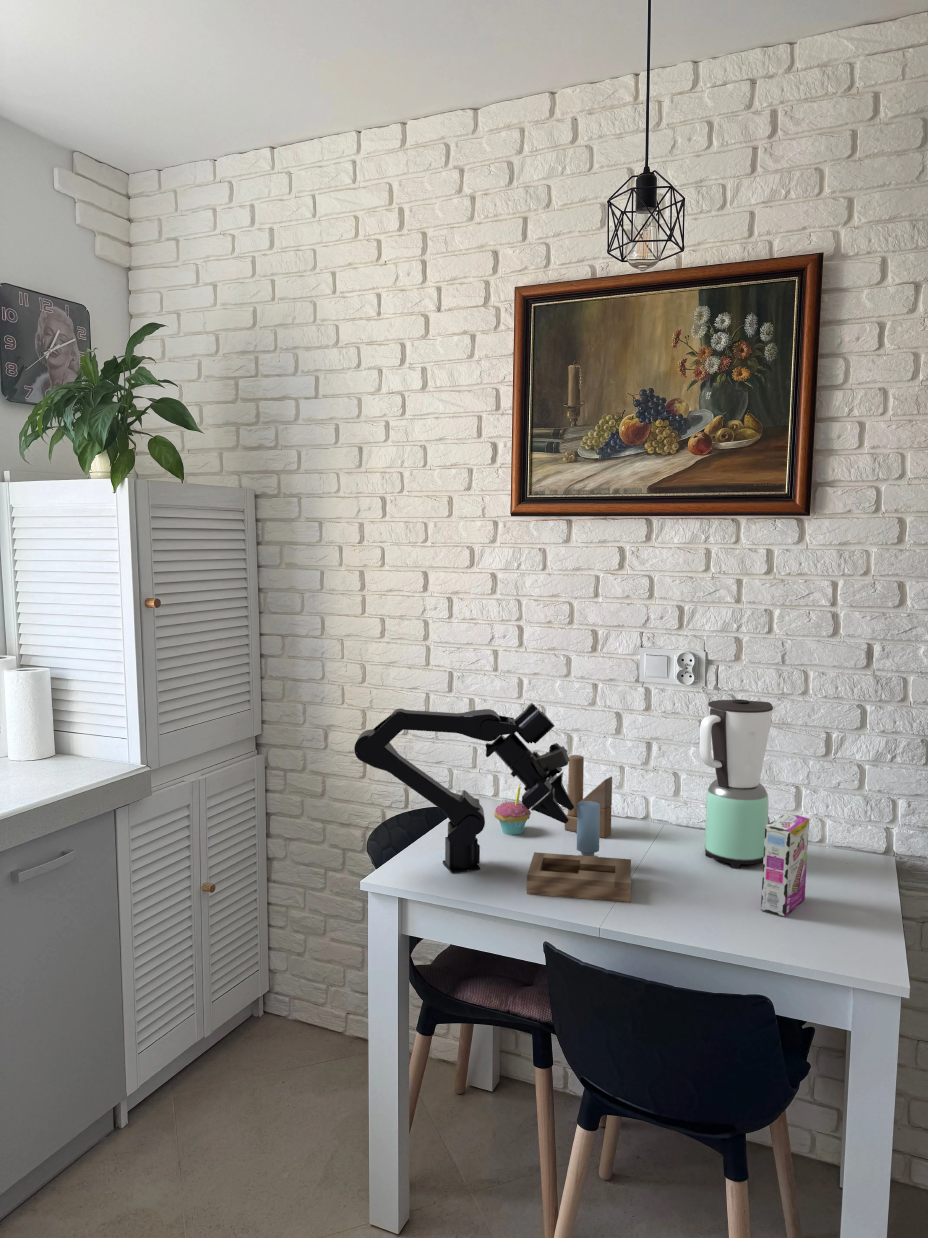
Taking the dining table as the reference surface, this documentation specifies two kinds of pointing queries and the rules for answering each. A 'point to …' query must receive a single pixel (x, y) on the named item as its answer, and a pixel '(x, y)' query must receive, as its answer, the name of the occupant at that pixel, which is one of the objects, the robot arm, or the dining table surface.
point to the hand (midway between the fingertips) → (570, 815)
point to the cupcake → (512, 816)
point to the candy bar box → (784, 864)
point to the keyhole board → (576, 889)
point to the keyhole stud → (588, 828)
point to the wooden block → (588, 796)
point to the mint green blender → (736, 780)
